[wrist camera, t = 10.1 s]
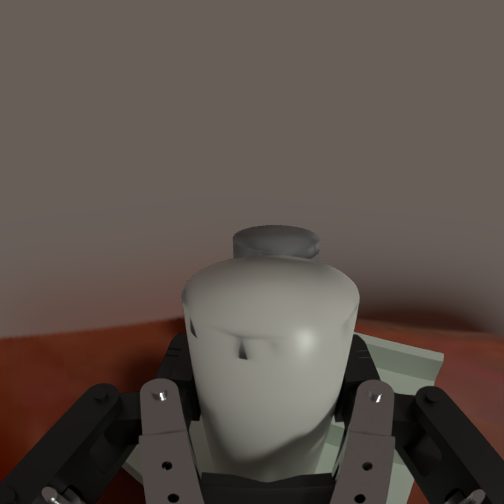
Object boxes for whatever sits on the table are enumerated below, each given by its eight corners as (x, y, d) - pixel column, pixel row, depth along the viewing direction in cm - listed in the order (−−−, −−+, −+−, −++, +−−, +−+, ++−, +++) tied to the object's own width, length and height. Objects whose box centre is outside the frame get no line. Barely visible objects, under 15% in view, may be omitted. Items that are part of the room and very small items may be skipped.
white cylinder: (193, 473, 11) (144, 299, 8) (249, 414, 15) (246, 246, 12) (284, 521, 9) (320, 369, 5) (331, 446, 13) (375, 273, 9)
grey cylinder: (224, 375, 20) (215, 242, 17) (260, 340, 24) (261, 221, 21) (287, 401, 18) (298, 259, 14) (317, 359, 22) (331, 233, 18)
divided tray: (111, 457, 13) (93, 430, 12) (258, 332, 27) (258, 304, 26) (360, 590, 5) (381, 585, 4) (431, 382, 19) (443, 353, 18)
